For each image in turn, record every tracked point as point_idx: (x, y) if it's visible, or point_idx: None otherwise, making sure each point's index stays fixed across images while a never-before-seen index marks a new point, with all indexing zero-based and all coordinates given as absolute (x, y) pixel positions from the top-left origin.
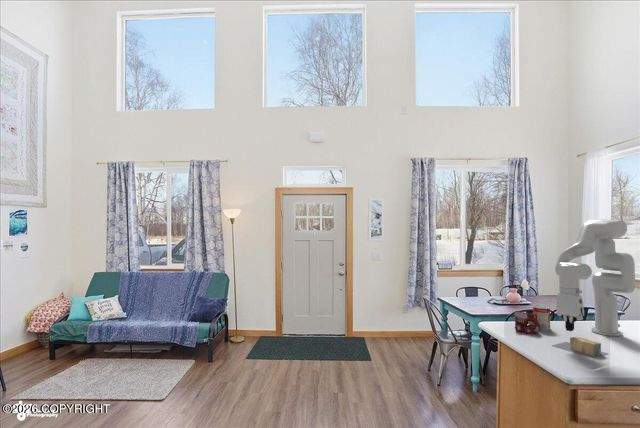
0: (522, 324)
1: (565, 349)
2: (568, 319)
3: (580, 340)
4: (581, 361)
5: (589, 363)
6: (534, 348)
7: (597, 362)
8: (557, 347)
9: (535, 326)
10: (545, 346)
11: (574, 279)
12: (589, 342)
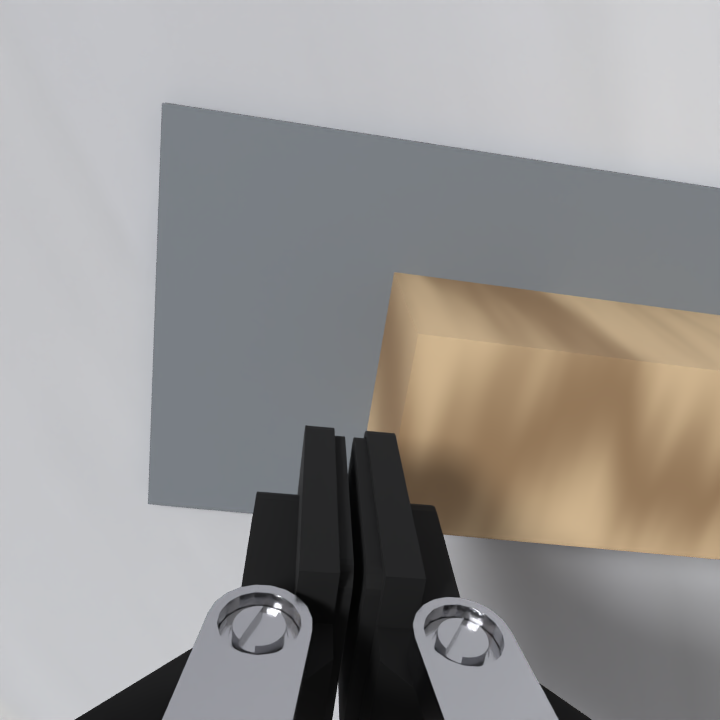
0: None
1: None
2: (298, 718)
3: (552, 535)
4: (579, 687)
5: (650, 680)
6: (86, 700)
7: (709, 600)
8: (237, 509)
9: None
10: (107, 545)
11: None
12: (688, 528)
